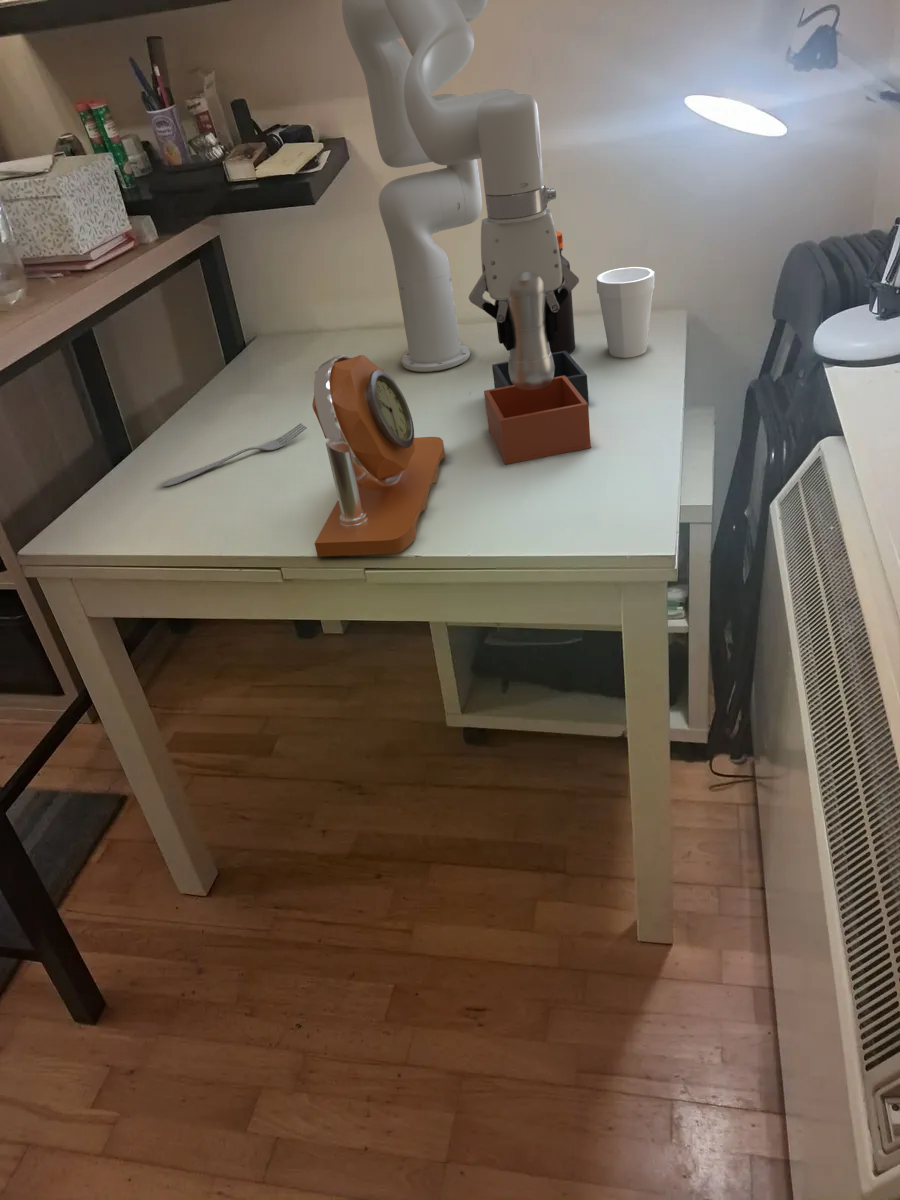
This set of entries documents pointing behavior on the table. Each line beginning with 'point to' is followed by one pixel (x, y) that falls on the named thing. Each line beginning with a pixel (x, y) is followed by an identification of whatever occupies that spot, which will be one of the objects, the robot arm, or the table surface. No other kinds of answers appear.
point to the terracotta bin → (537, 420)
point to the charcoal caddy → (562, 367)
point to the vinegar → (564, 316)
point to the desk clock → (371, 459)
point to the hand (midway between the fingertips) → (528, 342)
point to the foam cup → (626, 309)
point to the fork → (268, 446)
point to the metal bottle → (529, 334)
